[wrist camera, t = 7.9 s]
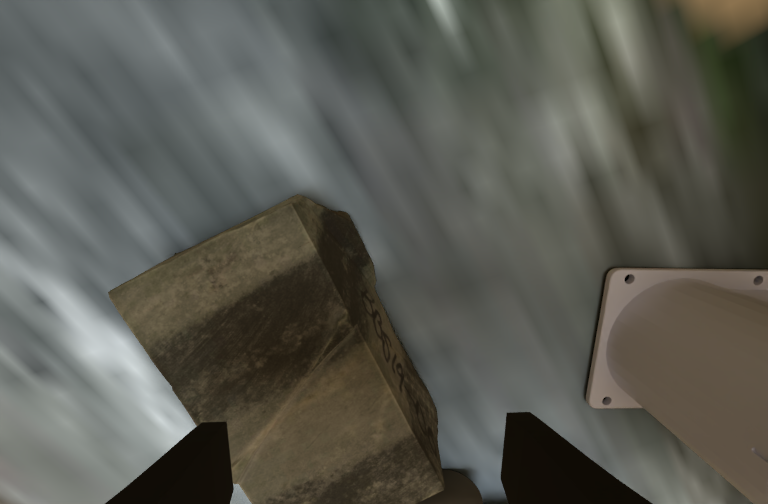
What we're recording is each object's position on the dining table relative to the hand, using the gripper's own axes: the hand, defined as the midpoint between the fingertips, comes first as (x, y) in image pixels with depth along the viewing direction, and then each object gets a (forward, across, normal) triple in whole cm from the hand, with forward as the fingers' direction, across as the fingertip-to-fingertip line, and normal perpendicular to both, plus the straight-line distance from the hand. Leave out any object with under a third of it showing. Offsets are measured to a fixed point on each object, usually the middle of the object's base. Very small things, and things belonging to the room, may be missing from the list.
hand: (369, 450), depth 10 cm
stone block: (+10, +2, +2) cm, 11 cm away
